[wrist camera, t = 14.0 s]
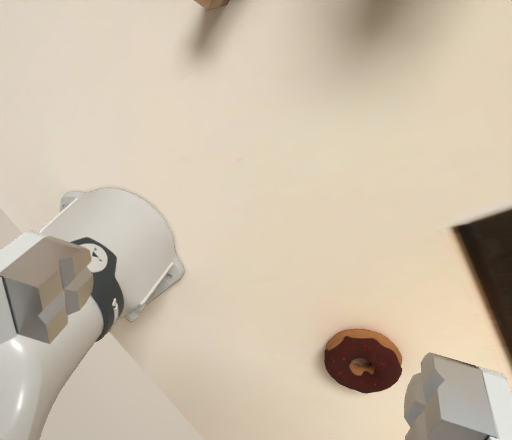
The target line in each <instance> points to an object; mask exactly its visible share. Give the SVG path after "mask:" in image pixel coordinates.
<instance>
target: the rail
mask: <svg viewBox="0 0 512 440" xmlns="http://www.w3.org/2000/svg"><path fill="white" fill-rule="evenodd" d="M194 1H196V2H197V3H198V4H200V5H201V6H202V7H204V8H205V9H206V10H210V9H213V8H217V7H221V6H224V5H227V4H228V2H229V0H194Z"/></svg>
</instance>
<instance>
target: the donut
mask: <svg viewBox="0 0 512 440" xmlns="http://www.w3.org/2000/svg"><path fill="white" fill-rule="evenodd" d="M355 358H364V359H366V360H368V361H369V362H370V363H371V364H372V365H368V366H363V365H358V364H355V363H353V359H355ZM324 362H325V367H326V370H327V371H328V373H329V374H330V375H331V377H332V378H334V379H335V380H336V381H337V382H338V383H339V384H341V385H343V386H346V387H348V388H349V389H354V390H356V391H359V392H361V393H372V392H378V391H382V390H385V389H387V388H389V387H391V386H392V385H393V384H395V383H396V382H397V381H398V379H399V377H400V375H401V373H402V368H401V363H402V356H401V354H400V352H399V350H398V349H397V347H396V346H395V345H394V344H393V343H392V342H391V341H390V340H389V339H388V338H387V337H385V336H383V335H382V334H380V333H377V332H373V331H370V330H365V329H350V330H344V331H342V332H340V333H338V334H337V335H335V336H334V337H333V338H332V339H331V340H330V341H329V342H328V344H327V346H326V349H325V361H324Z"/></svg>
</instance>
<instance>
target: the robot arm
mask: <svg viewBox="0 0 512 440" xmlns="http://www.w3.org/2000/svg"><path fill="white" fill-rule="evenodd" d="M183 274H184V268H183V266H182V264H181V262H180V260H179V259H178V257H177V256H176V253H175V247H174V241H173V237H172V234H171V232H170V230H169V228H168V226H167V224H166V222H165V221H164V219H163V218H162V217H161V216H160V214H159V213H158V212H157V211H156V210H155V209H154V208H153V207H152V206H151V205H149V204H148V203H147V202H145V201H144V200H142V199H141V198H139V197H137V196H136V195H134V194H131V193H129V192H126V191H123V190H119V189H113V188H103V189H98V190H94V191H91V192H88V193H81V192H67V193H66V194H65V195H64V196H63V197H62V198H61V206H60V213H59V214H58V215H57V216H56V217H54V218H53V219H52V220H51V221H50V222H49V223H48V224H47V225H46V226H44V227H43V228H42V229H41V230H40V231H39V232H36V231H33V230H32V231H27V232H25V233H23V234H22V235H21V236H19V237H18V238H16V239H15V240H14V241H12V242H11V243H10V244H8V245H7V246H6V247H4V248H3V249H2V250H0V440H39V439H40V436H41V433H42V430H43V427H44V425H45V422H46V419H47V417H48V414H49V412H50V410H51V408H52V406H53V404H54V402H55V400H56V398H57V396H58V394H59V392H60V391H61V389H62V388H63V386H64V385H65V383H66V382H67V380H68V379H69V377H70V376H71V374H72V373H73V371H74V370H75V369H76V367H77V366H78V364H79V363H80V362H81V360H82V359H83V357H84V356H85V355H86V353H87V352H88V351H89V349H90V348H91V347H92V345H93V344H94V343H95V342H96V341H99V340H100V339H102V338H103V337H104V335H105V334H107V333H108V332H109V331H110V330H111V329H112V327H113V326H114V325H115V323H116V321H117V320H119V319H120V318H122V317H123V316H124V317H125V318H126V319H127V320H129V321H130V322H133V321H134V320H135V319H136V318H137V317H138V316H139V315H140V313H141V312H142V309H143V308H144V307H145V306H146V304H148V303H149V302H150V301H152V300H153V299H154V298H156V297H157V296H158V295H159V294H161V293H162V292H163V291H165V290H166V289H167V288H168V287H170V286H171V285H172V284H174V283H175V282H176V281H177V280H179V279H180V278H181V277H182V275H183ZM404 418H405V419H406V421H407V422H408V424H409V426H410V427H411V428H410V430H409V431H408V433H407V434H406V436H405V440H512V395H511V391H510V388H509V385H508V381H507V378H506V377H505V376H504V375H503V374H502V373H498V372H495V371H492V370H488V369H485V368H481V367H476V366H474V365H471V364H468V363H464V362H461V361H458V360H454V359H451V358H447V357H444V356H441V355H437V354H434V353H430V352H429V353H428V354H427V355H425V357H424V358H423V360H422V362H421V373H418V374H416V375H413V377H412V379H411V381H410V383H409V384H408V387H407V391H406V395H405V402H404Z"/></svg>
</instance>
